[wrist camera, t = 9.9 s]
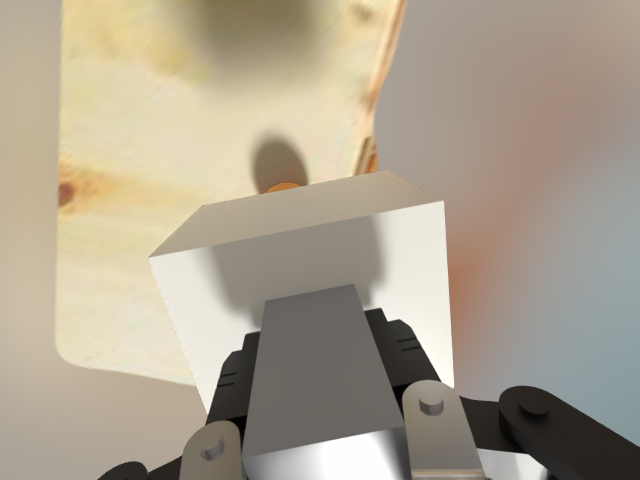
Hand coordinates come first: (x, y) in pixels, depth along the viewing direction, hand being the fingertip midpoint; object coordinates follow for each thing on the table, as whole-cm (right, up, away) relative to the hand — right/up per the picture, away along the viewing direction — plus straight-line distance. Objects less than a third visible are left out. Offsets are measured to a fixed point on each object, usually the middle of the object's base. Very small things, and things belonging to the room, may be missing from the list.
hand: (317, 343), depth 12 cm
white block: (0, +3, +8) cm, 8 cm away
